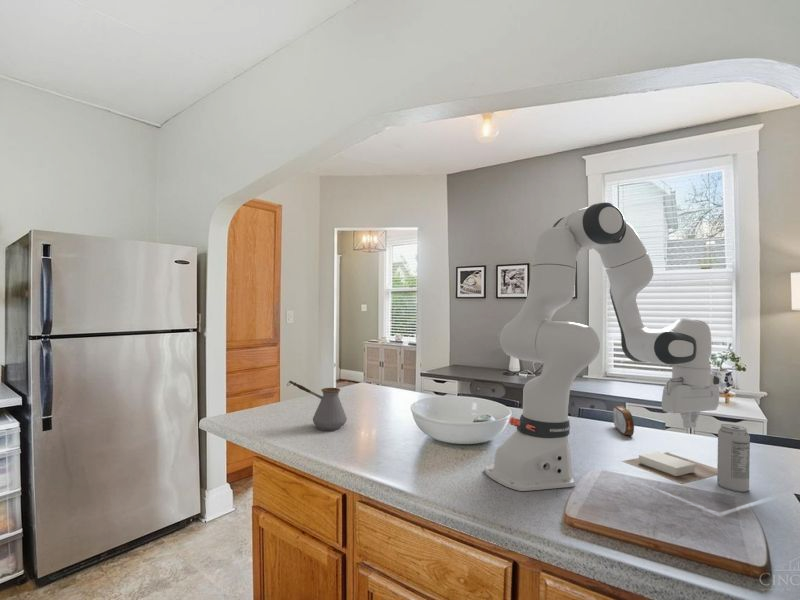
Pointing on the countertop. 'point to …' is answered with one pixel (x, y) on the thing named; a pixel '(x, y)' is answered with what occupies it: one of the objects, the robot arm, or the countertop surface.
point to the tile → (667, 463)
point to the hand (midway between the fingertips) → (689, 427)
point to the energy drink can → (733, 458)
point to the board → (700, 473)
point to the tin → (623, 420)
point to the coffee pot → (327, 409)
